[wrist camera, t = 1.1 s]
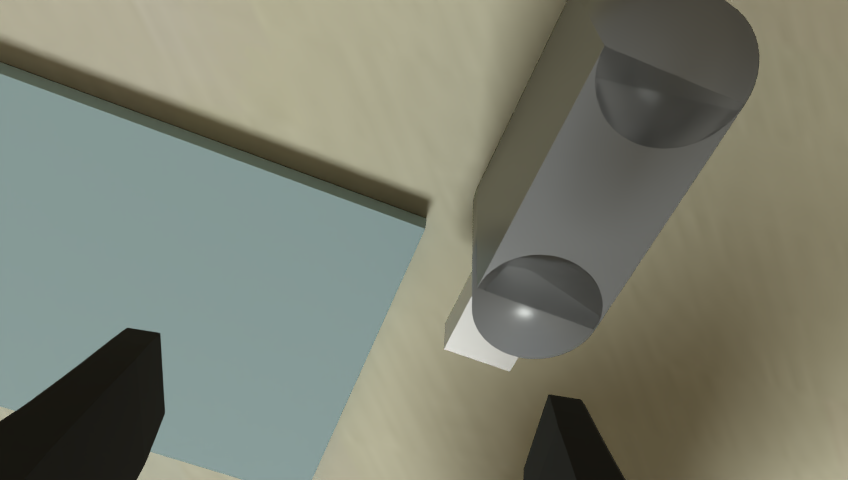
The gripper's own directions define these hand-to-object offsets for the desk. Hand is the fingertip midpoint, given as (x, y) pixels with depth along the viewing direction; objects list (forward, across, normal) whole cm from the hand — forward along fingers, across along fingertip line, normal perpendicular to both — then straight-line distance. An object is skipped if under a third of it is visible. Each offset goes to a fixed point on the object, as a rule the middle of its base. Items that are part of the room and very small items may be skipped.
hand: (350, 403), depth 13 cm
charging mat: (+9, +7, +6) cm, 12 cm away
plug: (+9, -4, -2) cm, 10 cm away
